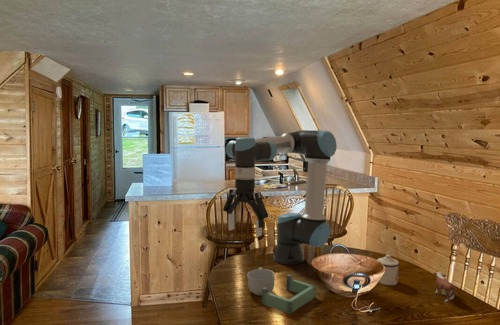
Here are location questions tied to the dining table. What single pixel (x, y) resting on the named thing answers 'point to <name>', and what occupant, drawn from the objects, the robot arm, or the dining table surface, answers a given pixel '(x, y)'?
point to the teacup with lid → (389, 270)
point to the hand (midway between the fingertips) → (244, 232)
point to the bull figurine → (444, 286)
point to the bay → (292, 304)
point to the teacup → (260, 280)
